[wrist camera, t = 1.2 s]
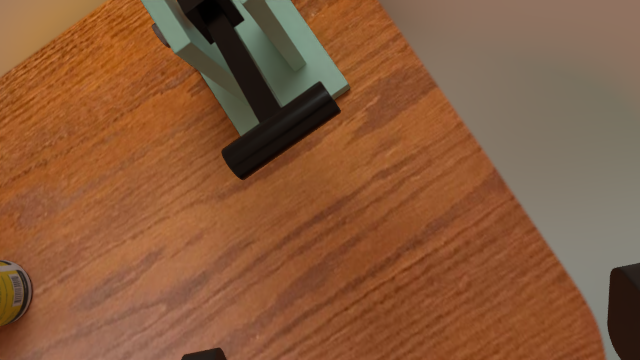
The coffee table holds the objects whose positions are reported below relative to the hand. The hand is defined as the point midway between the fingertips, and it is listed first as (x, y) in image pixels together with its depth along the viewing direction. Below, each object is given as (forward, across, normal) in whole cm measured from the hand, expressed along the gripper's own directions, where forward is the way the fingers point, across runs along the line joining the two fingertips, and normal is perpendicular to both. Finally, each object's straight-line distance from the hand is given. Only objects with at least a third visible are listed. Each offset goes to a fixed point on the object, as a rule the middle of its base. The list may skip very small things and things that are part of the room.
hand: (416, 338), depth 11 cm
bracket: (+30, +5, +3) cm, 31 cm away
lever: (+18, +4, -1) cm, 18 cm away
